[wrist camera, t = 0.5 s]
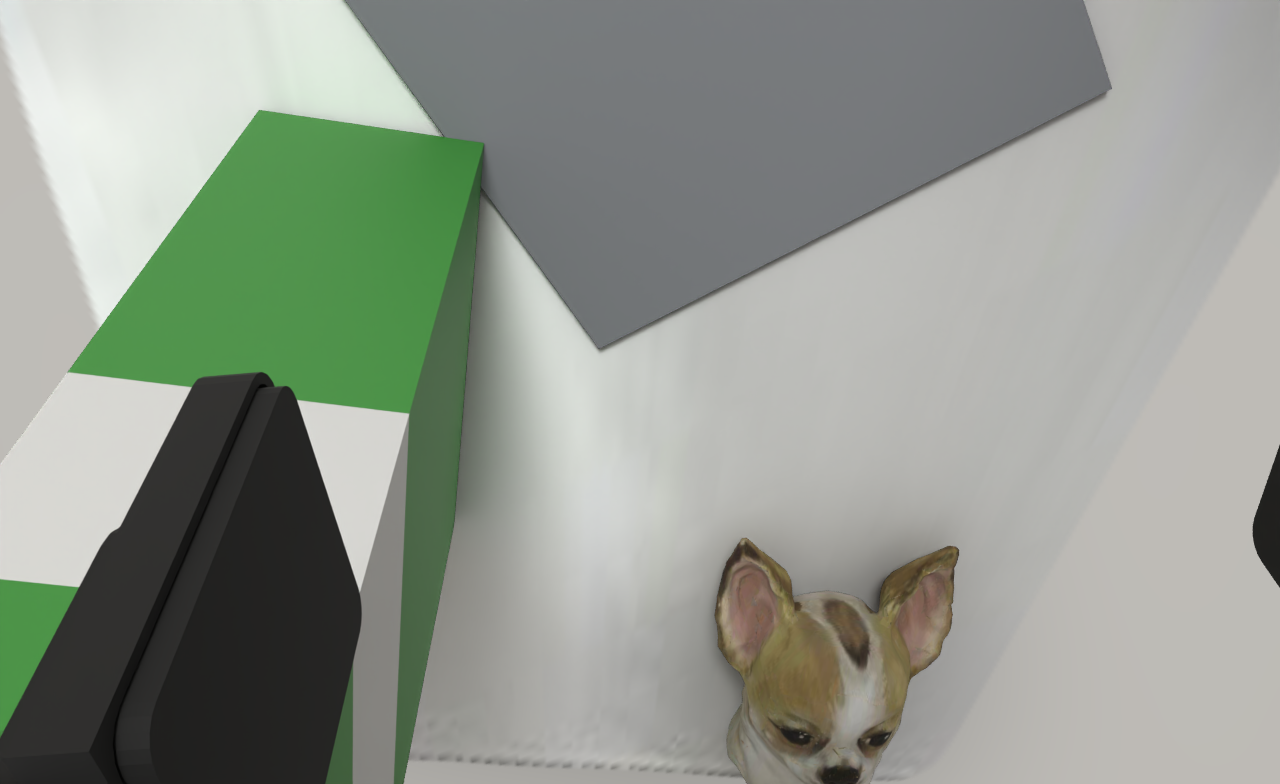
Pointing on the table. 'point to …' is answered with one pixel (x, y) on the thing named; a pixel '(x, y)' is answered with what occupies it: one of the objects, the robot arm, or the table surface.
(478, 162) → the hardback book
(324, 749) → the robot arm
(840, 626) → the ceramic sculpture
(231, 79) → the table surface
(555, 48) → the mouse pad
